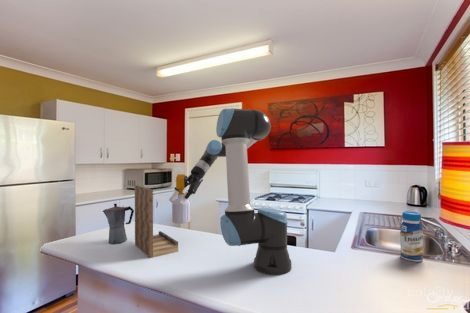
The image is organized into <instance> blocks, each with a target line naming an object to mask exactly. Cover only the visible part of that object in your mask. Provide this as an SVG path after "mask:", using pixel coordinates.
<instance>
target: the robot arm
mask: <svg viewBox="0 0 470 313" xmlns="http://www.w3.org/2000/svg"><path fill="white" fill-rule="evenodd" d="M216 121H217V122H216V126H215V128H216V129H215V130H216V136H217V137H218V138H220V139H221V142H220V141H219V140H218V139H212V140H210V141H209V142H208V143H207V145H206V148H205V150H204V152H203V154H202V155H201V157H200V158H199V159H198V161H197V162H196V164H194V166H193V167H192V169H191V170H190V174H189V175H188V176H187V175H185V177H184V187H185V189H186V188H187V187H188V190H187V191H185V193H184V195H183V197H182V198H181V199H180V201H179V202H180V203H181V204H182V205H183V204H184V203H185V202H186V200H187V199H188V200H189V198H190V197H191V196H193V195H195V194H196V193H197V191H198V189H199V187H200V185H201V183H202V182H203V181H204V179H203V178H204V177H205V175H206V174H207V172H208V171H209V170H210V168H211V167H212V165H213V164H214V163H215V161H216V160H217V159H218V158H221V157H222V158H223V157H224V158H225V162H226V179H227V180H226V182H227V183H226V184H227V201H228V205H227V207H226V208H225V209H224V214H223V215H222V216H221V217H220V223H219V224H220V230H221V235H222V237H223V240H224V242H225V243H226V245H228V246H230V247H231V246H232V247H236V246H237V247H241V246H247V245H252V244H253V245H255V244H258V245H257V250H256V253H255V257H254V259H253V268H254V269H255V270H256V271H258V272H260V273H262V274H266V275H283V274H286V273H289V272H291V270H292V267H293V266H292V259H291V258H290V254H289V250H288V216H287V214H286V212H285V211H284V210H280V209H276V208H269V207H260V208H258V209H257V212H255V208H254V207H253V206H252V205H251V199H250V180H249V179H250V178H249V163H248V161H249V160H248V149H249V148H250V147H251V146H253V144H255V143H257V142H258V141H262V140H264V139H265V138H266V137H268V135H269V133H270V132H271V128H272V125H271V120H270V118H269V117H268V116H267V114H265V113H264V112H263V111H261V110H258V109H244V108H232V107H231V108H223V109H221V111H219V114H218V117H217V120H216ZM178 193H179V190H178V189H176V186H175V187H174V192H173V194H172V195H171V197H169V200H168V201H170V202H171V204H172V203H173V201H174V200H175V199H177V198H178Z"/></svg>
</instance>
